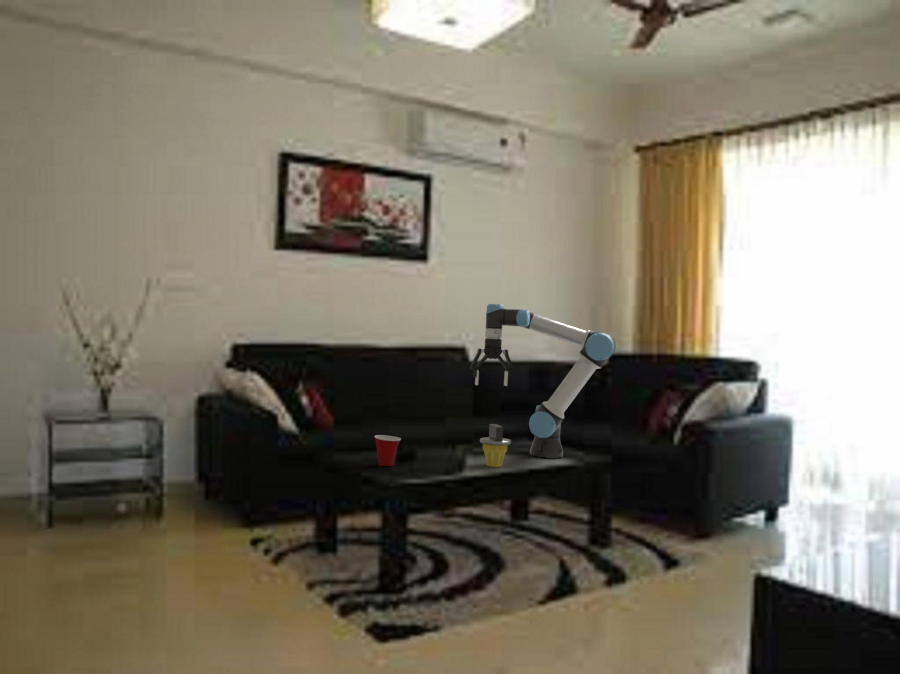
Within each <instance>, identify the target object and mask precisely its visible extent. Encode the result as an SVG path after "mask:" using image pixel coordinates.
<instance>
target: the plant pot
mask: <svg viewBox="0 0 900 674" xmlns="http://www.w3.org/2000/svg"><path fill="white" fill-rule="evenodd" d="M508 446H509V445H489V444H483V443H482V450H483V453H484V458H485V465H486V466H487V467H492V468H500V467H502V466H503V463H504V459H505V456H506V452H508Z"/></svg>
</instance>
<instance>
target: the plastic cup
mask: <svg viewBox="0 0 900 674" xmlns="http://www.w3.org/2000/svg"><path fill="white" fill-rule="evenodd" d="M374 438H375V439H374V440H375V445H376V446H375V447H376V455H377V462H378V466H379V465H380V466H379V467H381V466H392V465H393V466H394V464H395V458H396V455H397V450H398V447H399V444H400V441H401V439H402V438H401V437H398V436H393V435H383V434H380V435H379V434H377V435H374ZM393 466H392V467H393Z"/></svg>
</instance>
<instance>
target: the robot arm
mask: <svg viewBox="0 0 900 674" xmlns="http://www.w3.org/2000/svg"><path fill="white" fill-rule="evenodd" d="M503 326H505V327H506V326H507V327H520V328H524V329H528V330H531V331H533V332H536V333H539V334H543V335H545V336H548V337H552V338H553V339H557V340H561V341H563V342H566V343H569V344H571V345H575V346H578V347H580V348H581V350H580V351H579V358H578V360H577V361H576V362H575V364H574V365H573V366H572V368H571V369H570V371H568V373H567V374H566V376H565V377H564V378H563V379H562V382H561V383H559V385H558V387H557V388H556V390H555V391H554V392H553V394H552V395H551V396H550V398H548V400H547V401H543V402H542V403H541V404H538V405H536V407H535V412H534V413H533V414H532V415H531V416H530V418H529V422H528V425H529V426H528V427H529V430H530V432H531V433H532V434H533V435H534V438H533V441H532V444H531V446H530V449H529V455H530V454H531V455H530V456H532V455H533V456H532V457H535V456H537V457H536V458H541V457H546V458H545V459H560V458H559V457H561V458H564V457H563V456H564V450H563V446H562V444H561V443H562V442H561V423H562V422H563V421H564V419H565V412H566V410H567V409H568V407H569V406H570V405H571V404H572V403H573V401H574V400H575V398H576V397H577V395H578V394H579V393H580V391H581V390H582V389H583V387H585V385H586V384H587V382H588V381H589V379H591V377H592V375H593V374H594V373H595V371H596V370H598V369H599V370H600V369H602V368H603V367H604V365H605V363H606V362H607V361H608V360H609V358H610V357H611V356H613V354H614V353H615V351H616V346H617V345H616V341H615V339H614V337H613V336H612V335H611V334H609V333H607V332H600V331H595V330H592V329H587V330H585V329H582V328H578V327H575V326H573V325H570V324H566V323H563V322H560V321H557V320H554V319H551V318H548V317H546V316H543V315H539V314H536V313H533V312H530V310H528V309H521V308H520V309H519V308H518V309H513V308H512V309H511V308H510V309H509V308H505V307H504V304H501V303H500V304H499V303H498V304H497V303H488V304H487V305H486V314H485V333H484V337H485V339H484V348H477V351H476V354H475V356H474V357H473V359H472V361H471V363H470V365H469V369H470V370H473V374H472V375H473V376H472V377H473V378H475V379H474V380H475V381H474V385H475V386H478V385H479V378H480V377H479V376H480V375H479V374H480V372H479V368H481V366H483V364H484V363H485V362H486V361H487V360H488V359H489V360H492V359H494V360H498V361H499V362H500V364H501V365H502V366H503V368H504V369H505V371H504V375H503V376H504V379H503V386H505V387H508V381H509V380H508V379H510V376H511V371H514V370H515V367H514V365H513V362H512V360H511V357H510V355H509V350H508V349H502V341H503V339H502V338H503ZM483 353H484V355H483V356H482V358H481V359H480V357H481V355H482V354H483ZM501 354H503V355H504V357H505V360H506V361H505V360H504V359H503V357H502V356H501ZM479 359H480V360H479ZM478 360H479V361H478ZM506 362H507V363H506Z"/></svg>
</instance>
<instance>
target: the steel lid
mask: <svg viewBox="0 0 900 674" xmlns="http://www.w3.org/2000/svg"><path fill="white" fill-rule="evenodd" d="M488 430H489V431H488V437H481V438H480V439H479V443H481V444H482V445H483V444H489V445H508V446H509V445H511V444H512V439H509V438H505V437H504V436H503V435H504V427H503V426H502V425H499V424H497V423H489V428H488Z"/></svg>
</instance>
